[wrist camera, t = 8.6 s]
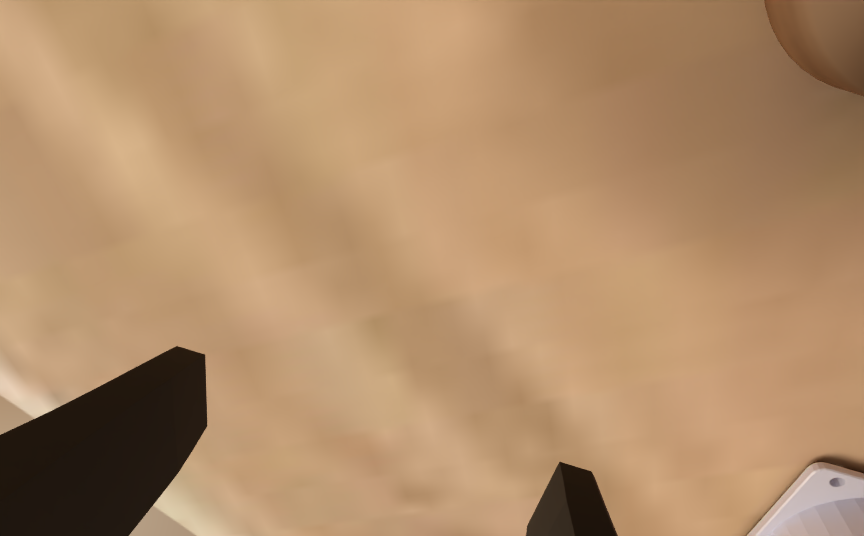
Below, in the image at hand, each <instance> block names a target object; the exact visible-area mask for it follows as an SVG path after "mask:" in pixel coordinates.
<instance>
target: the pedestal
mask: <svg viewBox="0 0 864 536" xmlns="http://www.w3.org/2000/svg"><path fill="white" fill-rule="evenodd" d="M765 7H766V10H767V14H768V17H769V20H770V24H771V26H772V28H773V30H774V33H775V35H776V37H777V39H778V41H779V42H780V44H781V45H782V47H783V48H784V49H785V51H786V52H787V54H788V55H789V56H790V57H791V58H792V59H793V60H794V61H795V62H796V63H797V64H798V65H799V66H800V67H801V68H802V69H803V70H805V71H806V72H808V73H809V74H810V75H812V76H813V77H815V78H816V79H818V80H820V81H823V82H825V83H827V84H829V85H831V86H833V87H836V88H839V89H843V90H846V91H849V92H852V93H855V94H859V95H862V96H864V0H765Z"/></svg>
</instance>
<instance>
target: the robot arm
mask: <svg viewBox="0 0 864 536" xmlns="http://www.w3.org/2000/svg"><path fill="white" fill-rule="evenodd" d="M206 427H207V402H206V369H205V355H204V354H201V353H198V352H194V351H191V350H188V349H185V348H181V347H178V346H176V347H174V348H172V349H170V350H168V351H166V352H164V353H162V354H160V355H159V356H157V357H155V358H153V359H151V360H149V361H147V362H145V363H143V364H141V365H140V366H138V367H136V368H134V369H132V370H130V371H128V372H126V373H124V374H122V375H121V376H119V377H117V378H115V379H113V380H111V381H109V382H107V383H105V384H103V385H102V386H100V387H98V388H96V389H94V390H92V391H90V392H88V393H86V394H84V395H82V396H80V397H78V398H76V399H74V400H72V401H70V402H68V403H66V404H64V405H62V406H60V407H58V408H56V409H54V410H52V411H50V412H48V413H46V414H44V415H42V416H40V417H38V418H36V419H33V420H31V421H29V422H27V423H25V424H23V425H21V426H19V427H16V428H14V429H12V430H10V431H8V432H6V433H4V434H1V435H0V536H129V535H130V533H131V532H132V531H133V529H134V528H135V527H136V526H137V525H138V523H139V522H140V521H141V520H142V518H143V517H144V516H145V515H146V513H147V512H148V511H149V509H150V508H151V507H152V506H153V504H154V503H155V502H156V501H157V499H158V498H159V497H160V495H161V494H162V493H163V492H164V490H165V489H166V488H167V487H168V485H169V484H170V483H171V481H172V480H173V479H174V477H175V476H176V475H177V474H178V472H179V471H180V469H181V468H182V466H183V464H184V463H185V461H186V460H187V458H188V457H189V455H190V453H191V452H192V450H193V449H194V447H195V445H196V444H197V442H198V440H199V439H200V437H201V435H202V434H203V432H204V430H205V429H206ZM526 536H618V535H617V533H616V531H615V528H614V526H613V523H612V521H611V518H610V516H609V513H608V511H607V508H606V506H605V503H604V500H603V498H602V495H601V493H600V490H599V488H598V485H597V482H596V480H595V477H594V475H593V474H592V472H591V471H588V470H585V469H581V468H578V467H575V466H572V465H568V464H565V463H562V462H559V464H558V466H557V468H556V470H555V472H554V474H553V476H552V478H551V480H550V482H549V484H548V486H547V488H546V490H545V492H544V494H543V496H542V498H541V500H540V502H539V504H538V506H537V508H536V510H535V512H534V514H533V516H532V518H531V520H530V521H529V523H528V525H527V533H526ZM747 536H864V473H860V472H857V471H853V470H850V469H846V468H843V467H840V466H836V465H833V464H829V463H824V462H817V463H813V464H811V465H810V466H808V467H807V468H806V469H805V471H804V472H803V473H802V474H801V475H800V476H799V477H798V478H797V480H796V481H795V482H794V483H793V484H792V485H791V486H790V487H789V489H788V490H787V491H786V492H785V493H784V494H783V495H782V496H781V498H780V499H779V500H778V501H777V502H776V503H775V504H774V506H773V507H772V508H771V509H770V510H769V511H768V512H767V513H766V515H765V516H764V517H763V518H762V519H761V520H760V521H759V522H758V524H757V525H756V526H755V527H754V528H753V529H752V530H751V531H750V533H749V534H748V535H747Z"/></svg>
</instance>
